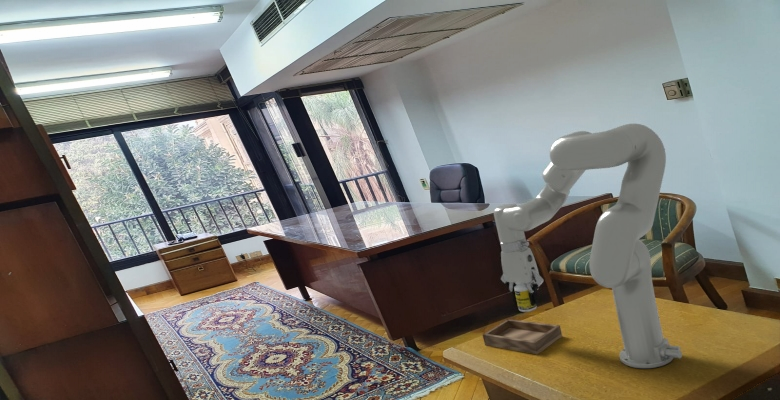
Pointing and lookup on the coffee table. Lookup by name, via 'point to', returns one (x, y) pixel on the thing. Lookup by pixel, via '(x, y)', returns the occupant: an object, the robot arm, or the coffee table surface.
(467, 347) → the coffee table surface
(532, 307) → the supplement bottle
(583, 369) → the coffee table surface
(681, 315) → the coffee table surface
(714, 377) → the coffee table surface
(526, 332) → the tray
